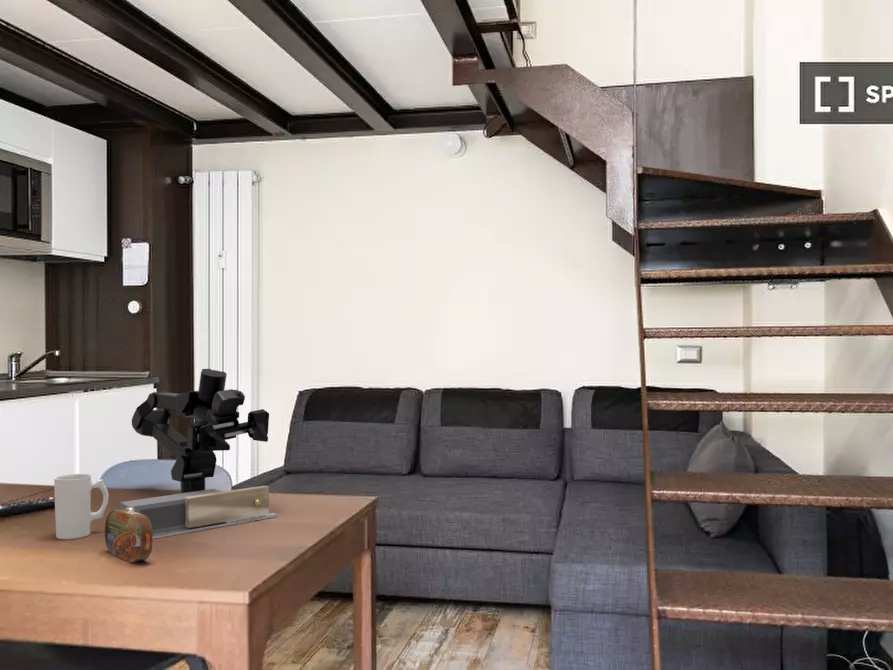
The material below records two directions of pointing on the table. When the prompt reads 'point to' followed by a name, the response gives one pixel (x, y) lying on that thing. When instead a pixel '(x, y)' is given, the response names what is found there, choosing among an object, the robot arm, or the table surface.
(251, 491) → the door
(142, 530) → the tin
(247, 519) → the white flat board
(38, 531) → the table surface
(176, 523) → the cabinet
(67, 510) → the mug
